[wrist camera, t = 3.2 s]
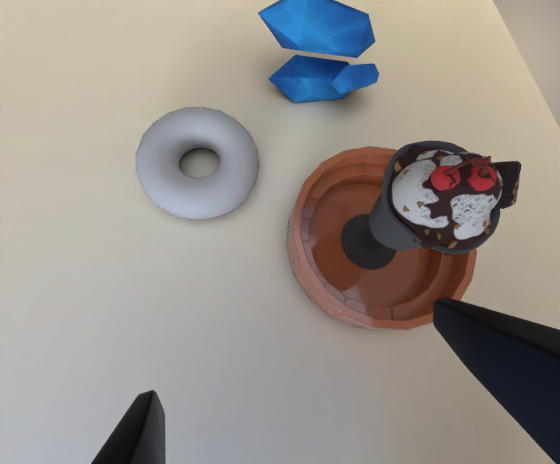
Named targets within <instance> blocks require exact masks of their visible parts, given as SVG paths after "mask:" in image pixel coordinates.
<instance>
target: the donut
mask: <svg viewBox="0 0 560 464" xmlns="http://www.w3.org/2000/svg"><path fill="white" fill-rule="evenodd" d="M195 148H207V149H210V150H212V151H214V152H215V153H216V154H217V155H218V157H219V162H220V163H219V166H218V168H217V169H216V171H215V172H213V173H212V174H211V175H209V176H206V177H203V178H193V177H189V176H187V175H185V174H184V173H183V172H182V171H181V169H180V167H179V162H180V159H181V157H182V156H183V155H184V154H185V153H186V152H188V151H189V150H192V149H195ZM258 171H259V159H258V151H257V147H256V145H255V143H254V141H253V139H252V137H251V135H250V133H249V132H248V131H247V130H246V129H245V128H244V127H243V126H242V125H241V124H240V123H239V122H238V121H237V120H236V119H235V118H233V117H231V116H229V115H227V114H225V113H223V112H221V111H219V110H214V109H210V108H205V107H190V108H183V109H179V110H176V111H173V112H170V113H167V114H166V115H164V116H163V117H161V118H160V119H158V120H157V121H155V122H154V123H153V124H152V125H151V126H150V127H149V129H148V130H147V131H146V132H145V133H144V134H143V136H142V139H141V141H140V144H139V147H138V149H137V152H136V173H137V176H138V179H139V181H140V184H141V186H142V189H143V191H144V192H145V193H146V195H147V196H148V197H149V198H150V199H151V200H152V201H153V202H154V203H155V205H157V206H158V207H160V208H162V209H164V210H165V211H167V212H169V213H171V214H173V215H174V216H178V217H183V218H188V219H193V220H198V219H209V218H215V217H218V216H220V215H223V214H225V213H228V212H230V211H232V210H233V209H234V208H236V207H237V206H238V205H239V204H241V203H242V202H243V201H244V200H245V199H246V198H247V196H248V195H249V193H250V192H251V190H252V189H253V187H254V185H255V183H256V179H257V175H258Z"/></svg>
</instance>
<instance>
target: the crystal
mask: <svg viewBox="0 0 560 464" xmlns="http://www.w3.org/2000/svg"><path fill="white" fill-rule="evenodd" d="M258 14H259V15H260V17H261V18H262V20H263V21H264V22H265V24H266V25H267V27H268V28H269V29H270V31H271V32H272V34H273V35H274V37H275V38H276V39H277V41H278V42H279V44H280V45H281V47H282V48H287V49H293V50H300V51H308V52H315V53H323V54H331V55H338V56H346V57H354V58H357V57H358V56H360V55H361V54H362V53H363V52H364V51H365V50H366V49H368V48H369V47H370V46H371V45H372V44H373V43H374V42H375V38H374V34H373V30H372V26H371V23H370V19H369V15H368V14H367V13H364V12H362V11H359V10H357V9H354V8H352V7H349V6H347V5H344V4H342V3H339V2H337V1H334V0H279V1H278V2H276V3H274V4H272V5H271V6H269V7H267V8H265V9H264V10H262V11H260V12H258ZM378 76H379V72H378V70H377V68H376V66H375V64H360V65H349V63H348V62H344V61H337V60H329V59H322V58H314V57H307V56H299V55H295V56H294V57H292V58H291V59H290V60H289V61H288V62H287V63H286V64H284V65H283V66H282V67H281V68H280V69H279V70H278V71H276V72H275V73H274V74H273V75H272V76H271V77H270V78H268V79H269V80H270V81H271V82H272V83H273V84H274V85H275V86H276V87H278V88H279V89H280V90H281V91H282V92H283V93H284V94H285V95H286V96H287V97H288V98H289V99H290V100H291V101H293V102H303V101H315V100H328V99H341V98H344V97H345V96H346V95H347V94H349V93H350V92H351V91H354V90H357V89H360V88H363V87H367V86H369V85H371V84H373V83H376V82H377V80H378Z"/></svg>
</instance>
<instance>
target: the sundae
mask: <svg viewBox="0 0 560 464" xmlns="http://www.w3.org/2000/svg"><path fill="white" fill-rule="evenodd" d="M490 160H491V156H488V157H486V156H484V157H483V156H481V155H479V154H476V153H471V152H468V151H466V150H465V149H463V148H461V147H459V146H457V145H455V144H452V143H448V142H442V141H423V142H417V143H412V144H408V145H405V146H404V147H402V148H400V149H399V150H398V151H397V152H396V153H395V154H394V155H393V157H392V158H391V160H390V162H389V164H388V166H387V168H386V170H385V174H384V179H383V185H382V193H381V194H380V196H379V197H378V199H377V200H376V202H375V204H374V206H373V209H372V211H371V213H370V214H361V215H357V216H355V217H353V218H351V219H350V220H349V221H348V222H347V223H346V225H345V226H344V228H343V231H342V239H341V242H342V246H343V249H344V251H345V253H346V255H347V256H348V258H349V259H350V260H351V261H352V262H353V263H355V264H356V265H358V266H360V267H362V268H365V269H372V270H375V269H379V268H382V267H385V266H386V265H388V264H389V263H390V262H391V261H392V260H393V258H394V256H395V253H396V251H397V250H413V249H417V248H424V249H435V250H438V251H441V252H445V253H449V254H462V253H465V252H469V251H471V250H473V249H475V248H477V247H479V246H480V245H481V244H483V243H484V242H485V241H486V240H487V239H488V238H489V237H490V236H491V235H492V234H493V233H494V231H495V229H496V227H497V225H498V222H499V217H500V209H504V208H507V207H509V206H512V205H514V204H515V202H516V198H517V192H518V188H519V175H520V170H521V164H520V163H519V162H518V161H510V162H495V163H492V162H491V161H490Z"/></svg>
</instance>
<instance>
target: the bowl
mask: <svg viewBox="0 0 560 464" xmlns="http://www.w3.org/2000/svg"><path fill="white" fill-rule="evenodd" d="M397 151H398V150H395V149H387V148H379V147H371V146H370V147H364V148H358V149H352V150H346V151H343V152H341V153H339V154H337V155H335V156H334V157H332V158H330V159H328V160H326V161H324V162H322V163H321V164H320V165H319V166H318V168H317V169H316V170H315V171H314V172H313V173H312V174H311V175H310V176H309V177H308V179H307V180H306V181H305V182H304V184H303V186H302V189H301V191H300V194H299V196H298V198H297V201H296V203H295V206H294V208H293V210H292V213H291V215H290V218H289V220H288V230H287V251H288V255H289V258H290V262H291V266H292V270H293V273H294V275H295V276H296V278H297V280H298V281H299V283H300V284H301V286H302V287H303V289H304V291H305V292H306V294H307V295H308V297H309V298H310V299H311V300H312V301H314V302H315V303H316V304H317V305H318V306H320V307H321V308H322V309H323V310H324V311H325V312H327V313H328V314H329V315H330V316H332V317H334V318H336V319H339V320H341V321H344V322H346V323H348V324H351V325H353V326H356V327H361V328H377V329H396V330H409V329H412V328H415V327H419V326H422V325H425V324H429V323H432V322H433V304H434V302H435V300H438V299H441V298H444V297H448V298H452V299H455V300H458V301H460V300H461V298H462V296H463V294H464V293H465V291H466V289H467V287H468V286H469V284H470V282H471V281H472V277H473V271H474V266H475V260H476V255H477V250H476V248H475V249H473V250H471V251H469V252H465V253H462V254H449V253H445V252H441V251H438V250H435V249H424V248H417V249H413V250H397V251H396V253H395V256H394V258H393V260H392V261H391V262H390V263H389V264H388V265H386V266H385V267H382V268H379V269H375V270H372V269H365V268H362V267H360V266H358V265H356V264H355V263H353V262H352V261H351V260H350V259H349V258H348V256H347V255H346V253H345V251H344V249H343V246H342V242H341V239H342V231H343V228H344V226H345V225H346V223H347V222H348V221H349V220H350V219H351V218H353V217H355V216H357V215H361V214H370V213H371V211H372V209H373V206H374V204H375V202H376V200H377V199H378V197H379V196H380V194H381V193H382V185H383V179H384V174H385V170H386V168H387V166H388V164H389V162H390V160H391V158H392V157H393V155H394V154H395V153H396V152H397Z"/></svg>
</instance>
